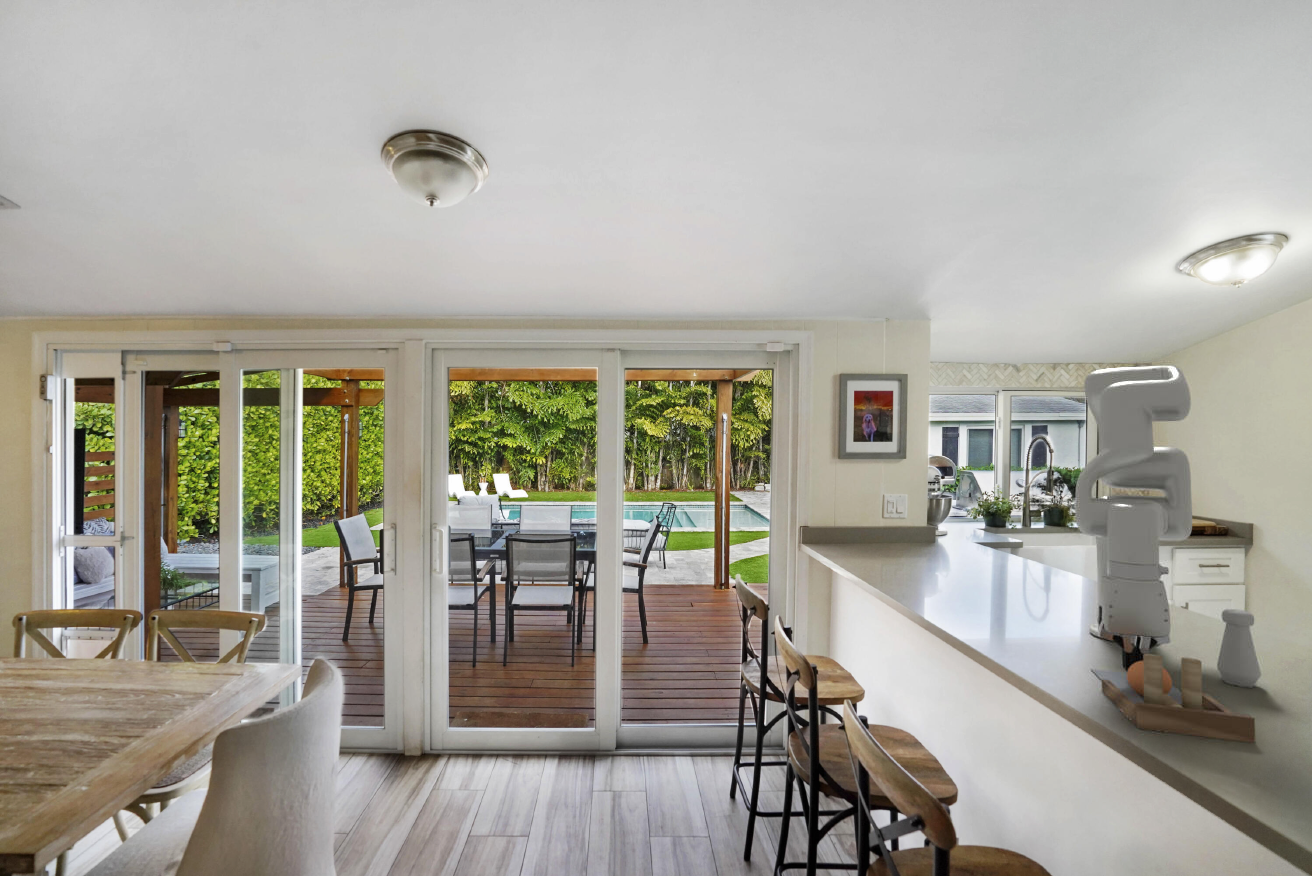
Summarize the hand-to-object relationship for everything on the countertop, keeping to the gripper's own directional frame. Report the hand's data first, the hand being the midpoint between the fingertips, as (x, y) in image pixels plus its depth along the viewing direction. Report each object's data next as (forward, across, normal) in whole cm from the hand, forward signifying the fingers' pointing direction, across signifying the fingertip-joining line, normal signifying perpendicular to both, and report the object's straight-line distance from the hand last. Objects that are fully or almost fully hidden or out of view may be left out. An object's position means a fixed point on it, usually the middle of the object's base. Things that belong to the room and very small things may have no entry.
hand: (1133, 672), depth 114 cm
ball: (-2, 0, +8) cm, 8 cm away
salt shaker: (+2, -18, -5) cm, 18 cm away
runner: (+2, 0, +9) cm, 9 cm away
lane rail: (+2, 0, +15) cm, 15 cm away
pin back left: (+2, -2, +15) cm, 16 cm away
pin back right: (+2, +2, +15) cm, 16 cm away
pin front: (0, 0, +12) cm, 12 cm away
